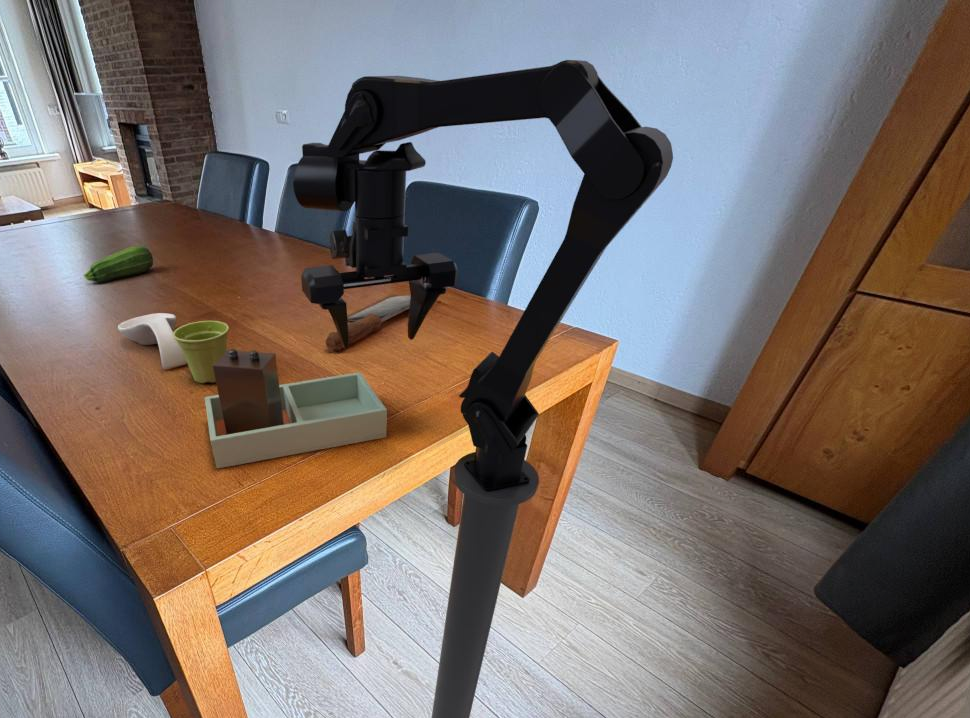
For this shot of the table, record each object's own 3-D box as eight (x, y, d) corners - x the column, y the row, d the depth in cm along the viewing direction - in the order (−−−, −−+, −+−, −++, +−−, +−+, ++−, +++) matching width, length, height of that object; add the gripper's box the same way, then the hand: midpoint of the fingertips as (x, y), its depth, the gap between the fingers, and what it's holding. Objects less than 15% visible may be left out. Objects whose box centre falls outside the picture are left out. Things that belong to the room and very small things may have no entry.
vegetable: (148, 239, 145) (78, 254, 135) (159, 265, 147) (91, 281, 137) (142, 248, 151) (74, 263, 141) (153, 272, 153) (87, 289, 143)
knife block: (240, 421, 77) (226, 340, 69) (284, 426, 76) (274, 344, 68) (227, 439, 73) (210, 356, 66) (272, 444, 72) (261, 359, 64)
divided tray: (386, 437, 74) (387, 409, 71) (216, 468, 69) (210, 440, 66) (360, 397, 83) (360, 372, 80) (210, 423, 79) (204, 396, 76)
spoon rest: (117, 337, 109) (106, 303, 105) (170, 324, 114) (162, 292, 109) (147, 376, 93) (136, 339, 89) (208, 360, 98) (200, 323, 93)
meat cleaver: (391, 296, 123) (391, 279, 120) (431, 305, 117) (433, 287, 114) (296, 343, 103) (294, 324, 101) (338, 357, 97) (337, 336, 95)
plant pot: (173, 379, 92) (161, 332, 86) (214, 361, 97) (205, 316, 92) (206, 393, 87) (195, 345, 81) (247, 373, 92) (239, 327, 87)
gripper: (427, 196, 67) (419, 314, 76) (287, 210, 63) (298, 331, 73) (466, 211, 58) (452, 342, 67) (307, 227, 55) (316, 363, 64)
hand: (378, 343), depth 68 cm, fingers open, 9 cm apart
